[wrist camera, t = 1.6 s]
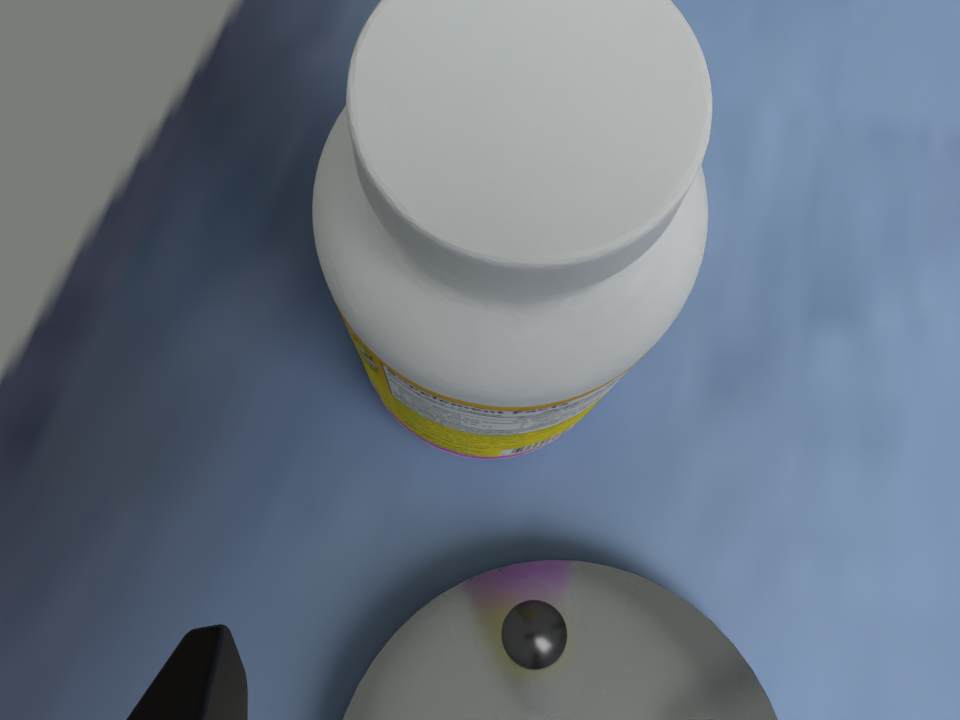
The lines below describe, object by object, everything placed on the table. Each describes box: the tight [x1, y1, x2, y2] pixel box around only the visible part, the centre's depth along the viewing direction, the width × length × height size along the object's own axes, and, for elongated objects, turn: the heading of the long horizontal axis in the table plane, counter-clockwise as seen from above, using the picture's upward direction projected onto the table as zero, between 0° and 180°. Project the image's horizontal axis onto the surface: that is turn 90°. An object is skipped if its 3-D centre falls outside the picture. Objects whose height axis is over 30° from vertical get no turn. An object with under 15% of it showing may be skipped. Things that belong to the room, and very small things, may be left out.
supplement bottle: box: [312, 0, 712, 460], centre depth 17 cm, size 7×7×13 cm
